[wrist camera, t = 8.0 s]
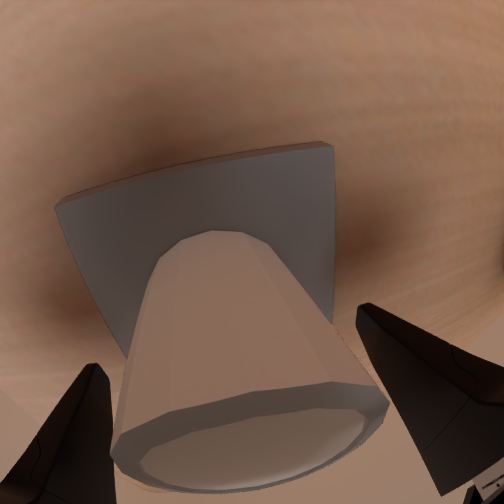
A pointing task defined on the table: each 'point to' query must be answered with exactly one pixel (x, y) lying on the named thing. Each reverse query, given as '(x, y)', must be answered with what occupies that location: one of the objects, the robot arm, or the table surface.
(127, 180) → the slate plate
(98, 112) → the table surface
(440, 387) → the robot arm
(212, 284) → the white cup
